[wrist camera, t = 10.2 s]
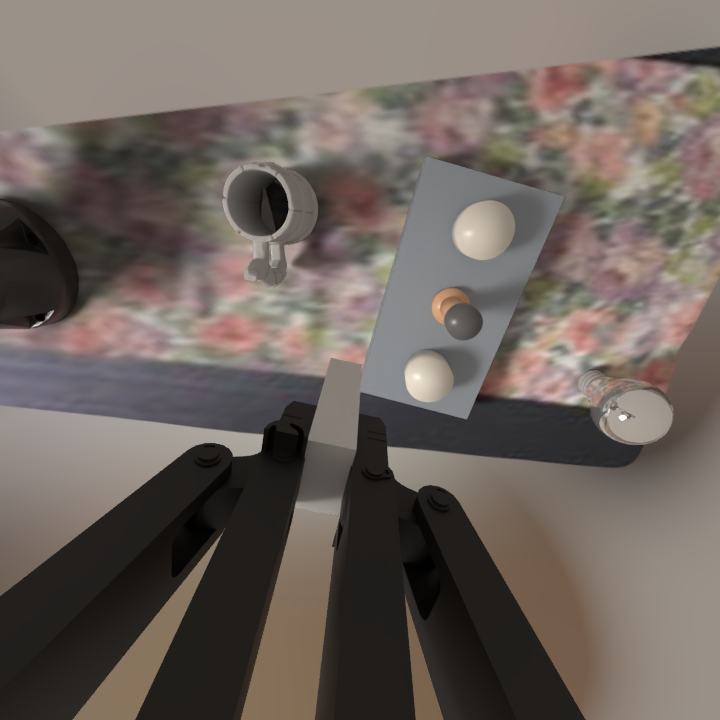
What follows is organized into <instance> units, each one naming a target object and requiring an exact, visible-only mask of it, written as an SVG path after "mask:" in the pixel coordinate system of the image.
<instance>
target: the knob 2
mask: <svg viewBox="0 0 720 720" xmlns="http://www.w3.org/2000/svg"><path fill="white" fill-rule="evenodd" d="M514 232H515V220H514V217H513V214H512V212H511V211H510V209H509V208H508V207H507V206H506V205H504V204H503V203H501V202H498V201H494V200H487V201H482V202H477V203H473V204H470V205H468V206H467V207H465V208H464V209H462V210H461V211H460V212H459V214H458V215H457V216H456V218H455V220H454V222H453V225H452V231H451V235H452V241H453V243H454V246H455V247H456V249H457V250H458V251H459V252H460V253H462V254H463V255H465V256H468V257H471V258H473V259H477V260H489V259H492V258H495V257H497V256H498V255H500V254H501V253H503V252H504V251H505V250H506V249H507V247H508V246H509V245H510V243H511V241H512V239H513V236H514Z"/></svg>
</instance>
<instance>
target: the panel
mask: <svg viewBox="0 0 720 720" xmlns="http://www.w3.org/2000/svg"><path fill="white" fill-rule="evenodd" d="M564 198H565V197H564V196H561V195H557V194H554V193H551V192H547V191H544V190H540V189H537V188H533V187H530V186H527V185H523V184H520V183H516V182H513V181H509V180H506V179H503V178H499V177H496V176H492V175H489V174H486V173H482V172H479V171H475V170H472V169H468V168H465V167H462V166H458V165H455V164H451V163H448V162H444V161H441V160H438V159H434V158H431V157H426V158H425V160H424V161H423V163H422V165H421V169H420V172H419V176H418V179H417V183H416V186H415V190H414V193H413V196H412V200H411V203H410V207H409V210H408V214H407V217H406V221H405V224H404V228H403V231H402V235H401V238H400V242H399V245H398V248H397V252H396V255H395V259H394V262H393V266H392V269H391V273H390V276H389V280H388V283H387V287H386V290H385V294H384V297H383V301H382V304H381V307H380V311H379V314H378V318H377V321H376V325H375V328H374V332H373V335H372V339H371V342H370V346H369V349H368V353H367V356H366V360H365V363H364V366H363V370H362V373H361V385H360V392H363V393H367V394H371V395H375V396H379V397H383V398H386V399H390V400H394V401H398V402H402V403H406V404H410V405H414V406H417V407H421V408H425V409H429V410H433V411H437V412H441V413H444V414H448V415H452V416H456V417H460V418H464V419H467V417H468V415H469V413H470V411H471V408H472V406H473V404H474V402H475V399H476V397H477V395H478V393H479V390H480V388H481V386H482V384H483V381H484V379H485V377H486V374H487V372H488V370H489V368H490V365H491V363H492V361H493V359H494V356H495V354H496V352H497V350H498V347H499V345H500V343H501V341H502V338H503V336H504V334H505V331H506V329H507V327H508V325H509V322H510V320H511V318H512V316H513V313H514V311H515V309H516V307H517V304H518V302H519V300H520V297H521V295H522V293H523V291H524V288H525V286H526V284H527V282H528V279H529V277H530V275H531V273H532V270H533V268H534V266H535V264H536V261H537V259H538V257H539V254H540V252H541V250H542V248H543V245H544V243H545V241H546V239H547V236H548V234H549V232H550V230H551V227H552V225H553V223H554V221H555V218H556V216H557V214H558V211H559V209H560V207H561V205H562V202H563V200H564ZM487 200H494V201H498V202H501V203H503V204H504V205H506V206H507V207H508V208H509V209H510V211H511V212H512V214H513V217H514V220H515V232H514V236H513V239H512V241H511V243H510V245H509V246H508V247H507V249H506V250H505V251H504V252H503V253H501V254H500V255H498V256H497V257H495V258H492V259H489V260H477V259H473V258H471V257H468V256H465V255H463V254H462V253H460V252H459V251H458V250H457V249H456V247H455V246H454V243H453V241H452V235H451V231H452V225H453V222H454V220H455V218H456V216H457V215H458V214H459V212H460V211H461V210H462V209H464V208H465V207H467V206H468V205H470V204H473V203H477V202H482V201H487ZM448 287H454V288H458V289H460V290H461V291H463V292H464V293H465V294H466V295H467V297H468V298H469V301H470V305H472V306H474V307H475V308H476V309H477V310H478V311H479V312H480V313H481V315H482V318H483V326H482V329H481V331H480V332H479V333H478V334H477V335H476V336H475V337H474V338H472V339H470V340H465V341H462V340H457V339H455V338H453V337H452V336H451V335H450V334H449V332H448V331H447V329H446V327H445V325H443V324H441V323H440V322H438V321H437V320H436V319H435V317H434V315H433V313H432V310H431V303H432V300H433V298H434V296H435V295H436V294H437V293H438V292H439V291H440V290H442V289H444V288H448ZM422 350H432V351H436V352H438V353H440V354H441V355H442V356H443V357H444V358H445V359H446V361H447V363H448V365H449V367H450V369H451V371H452V373H453V377H454V383H453V387H452V389H451V391H450V392H449V394H448V395H447V396H445V397H444V398H443V399H441V400H439V401H436V402H422V401H419V400H417V399H415V398H414V397H412V396H411V394H410V393H409V392H408V390H407V387H406V381H405V375H404V367H405V364H406V362H407V360H408V359H409V358H410V357H411V356H412V355H413V354H415V353H417V352H419V351H422Z"/></svg>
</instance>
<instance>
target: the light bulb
mask: <svg viewBox="0 0 720 720" xmlns="http://www.w3.org/2000/svg"><path fill="white" fill-rule="evenodd" d="M578 388H579V390H580V392H582V393H583V394H584V395H585V396H586V397H587V399H588V401H589V402H590V414H591V417H592V420H593V422H594V424H595V425H596V427H597V428H598V429H599V430H600V431H601V432H602V433H603V434H605V435H606V436H607V437H609V438H611V439H613V440H615V441H617V442H620V443H624V444H629V445H643V444H648V443H652V442H654V441H656V440H658V439H660V438H661V437H663V436H664V435H665V434H666V433H667V432H668V431H669V429H670V428H671V426H672V423H673V418H674V411H673V407H672V404H671V402H670V400H669V399H668V397H667V396H666V395H665V394H664V393H663V392H662V391H661V390H660V389H659V388H657V387H656V386H654V385H652V384H650V383H648V382H646V381H643V380H639V379H632V378H623V379H615V378H611V377H608V376H606V375H605V374H603V373H602V372H600V371H597V370H591V371H588V372H586V373H584V374H583V375H582V376H581V377H580V378H579V380H578Z"/></svg>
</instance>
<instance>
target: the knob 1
mask: <svg viewBox="0 0 720 720" xmlns="http://www.w3.org/2000/svg"><path fill="white" fill-rule="evenodd" d="M404 375H405V381H406V387H407V390H408V392H409V393H410V394H411V396H412V397H414V398H415V399H417V400H419V401H422V402H436V401H439V400H441V399H443V398H444V397H445V396H447V395H448V394H449V392H450V391H451V389H452V387H453V383H454V377H453V373H452V371H451V369H450V367H449V365H448V363H447V361H446V359H445V358H444V357H443V356H442V355H441V354H440V353H438V352H436V351H432V350H422V351H419V352H417V353H415V354H413V355H412V356H411V357H410V358H409V359H408V360H407V362H406V364H405V367H404Z"/></svg>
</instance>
